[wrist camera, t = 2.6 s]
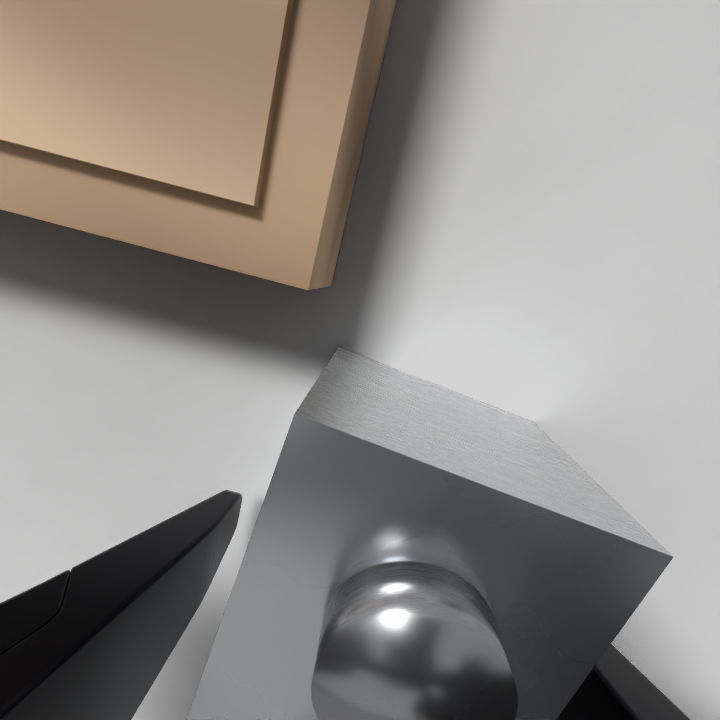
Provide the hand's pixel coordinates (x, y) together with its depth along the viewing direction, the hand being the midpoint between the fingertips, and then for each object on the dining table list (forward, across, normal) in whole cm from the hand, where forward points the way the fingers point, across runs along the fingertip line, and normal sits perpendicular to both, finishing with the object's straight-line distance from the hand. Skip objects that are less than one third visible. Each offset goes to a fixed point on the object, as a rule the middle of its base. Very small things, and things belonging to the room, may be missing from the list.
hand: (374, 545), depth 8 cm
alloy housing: (+1, 0, 0) cm, 1 cm away
